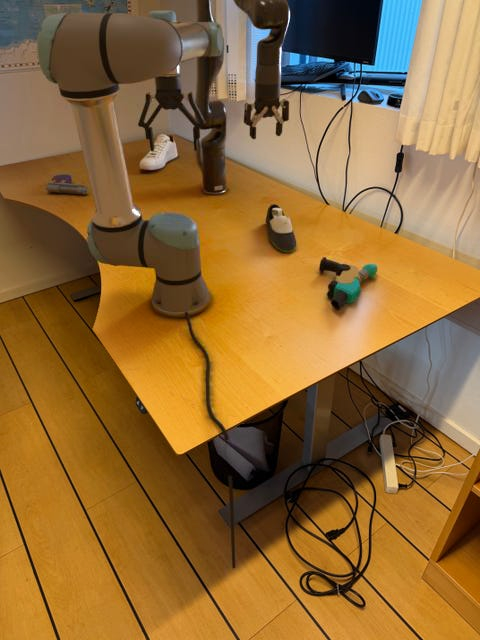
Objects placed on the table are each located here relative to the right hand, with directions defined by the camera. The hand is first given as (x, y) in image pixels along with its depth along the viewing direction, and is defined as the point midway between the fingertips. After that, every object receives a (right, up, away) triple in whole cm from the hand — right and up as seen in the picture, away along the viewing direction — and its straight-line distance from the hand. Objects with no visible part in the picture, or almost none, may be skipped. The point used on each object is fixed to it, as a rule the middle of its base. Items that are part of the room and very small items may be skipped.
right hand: (265, 137), depth 149 cm
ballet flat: (+4, -30, +7) cm, 31 cm away
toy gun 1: (-76, -4, +44) cm, 89 cm away
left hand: (-29, -4, 0) cm, 29 cm away
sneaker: (-46, +14, +68) cm, 83 cm away
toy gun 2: (+19, -49, -19) cm, 56 cm away
